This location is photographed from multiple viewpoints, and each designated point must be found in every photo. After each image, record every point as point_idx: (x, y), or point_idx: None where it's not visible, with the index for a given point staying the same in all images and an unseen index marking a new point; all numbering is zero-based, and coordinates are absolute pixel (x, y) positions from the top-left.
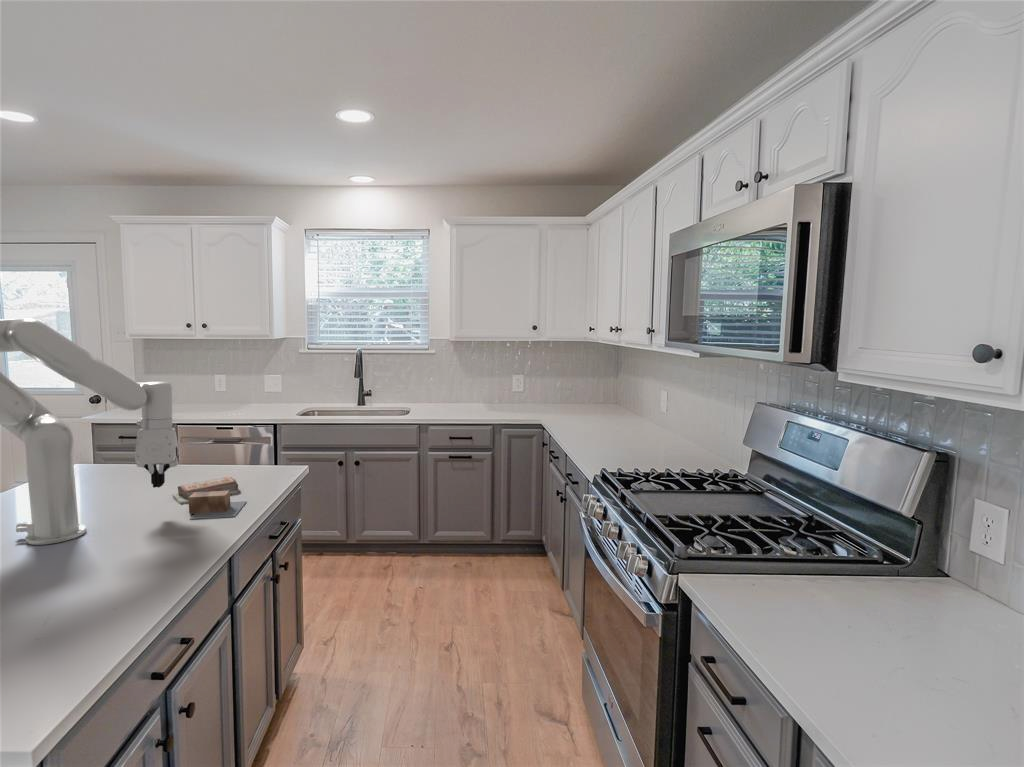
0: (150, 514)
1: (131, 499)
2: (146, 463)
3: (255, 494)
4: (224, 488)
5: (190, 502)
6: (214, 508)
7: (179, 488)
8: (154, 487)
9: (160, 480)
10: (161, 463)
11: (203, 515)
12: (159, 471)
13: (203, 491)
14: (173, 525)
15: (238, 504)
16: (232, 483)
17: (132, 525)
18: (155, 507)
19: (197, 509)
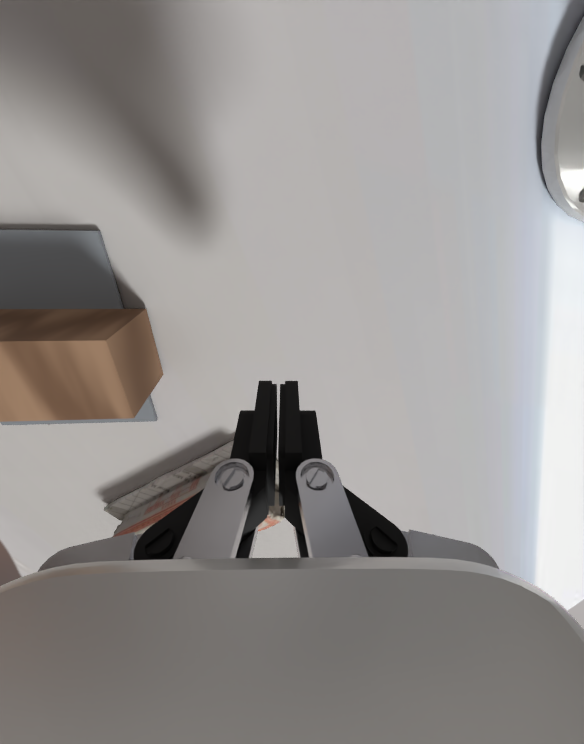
0: (315, 343)
1: (414, 484)
2: (383, 565)
3: (40, 486)
4: (142, 514)
5: (110, 327)
6: (20, 315)
7: (275, 508)
8: (289, 383)
9: (251, 423)
10: (150, 567)
11: (58, 271)
12: (245, 483)
13: (189, 490)
14: (133, 142)
15: None
16: (117, 535)
17: (345, 198)
18: (323, 413)
19: (100, 315)
